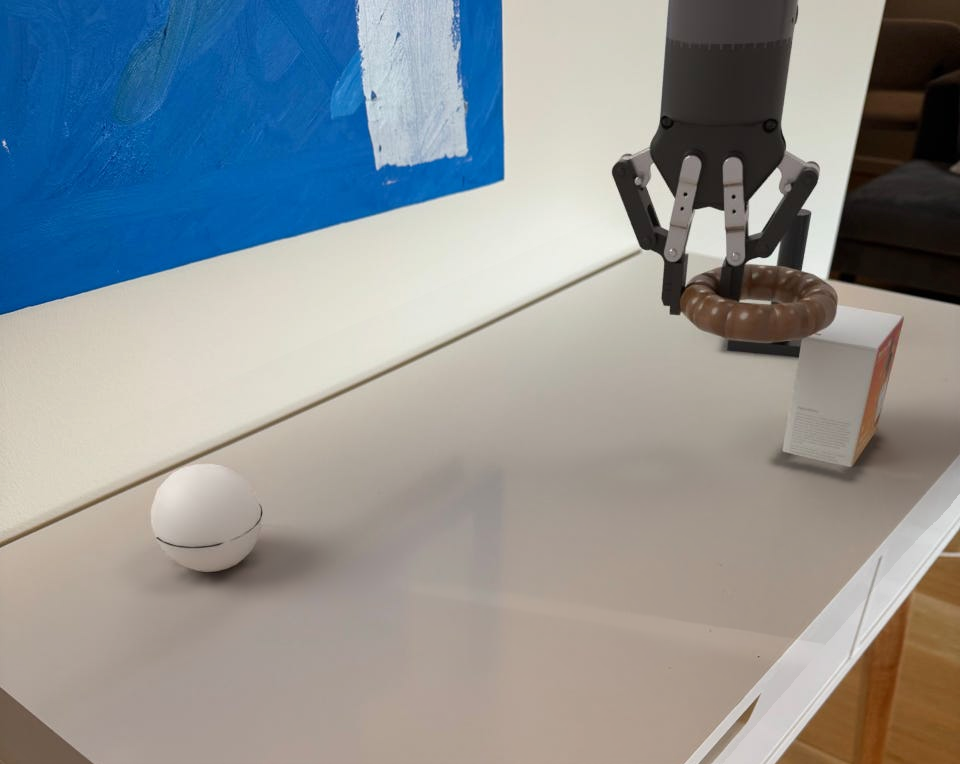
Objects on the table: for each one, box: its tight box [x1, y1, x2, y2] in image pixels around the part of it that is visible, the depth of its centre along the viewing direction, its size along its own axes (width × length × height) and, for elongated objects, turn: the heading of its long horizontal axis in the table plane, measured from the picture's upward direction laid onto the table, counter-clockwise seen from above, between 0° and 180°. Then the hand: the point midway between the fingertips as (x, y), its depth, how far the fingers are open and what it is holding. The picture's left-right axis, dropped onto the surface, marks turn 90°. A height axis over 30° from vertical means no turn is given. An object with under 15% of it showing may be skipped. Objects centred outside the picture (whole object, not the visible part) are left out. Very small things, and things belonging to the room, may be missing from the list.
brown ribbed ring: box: [680, 263, 839, 343], centre depth 69 cm, size 10×10×2 cm
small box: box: [782, 304, 905, 468], centre depth 79 cm, size 8×6×10 cm
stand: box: [726, 208, 812, 358], centre depth 97 cm, size 9×9×12 cm
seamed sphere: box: [150, 463, 295, 573], centre depth 68 cm, size 10×7×7 cm
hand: (699, 312), depth 71 cm, fingers closed on brown ribbed ring, 2 cm apart
